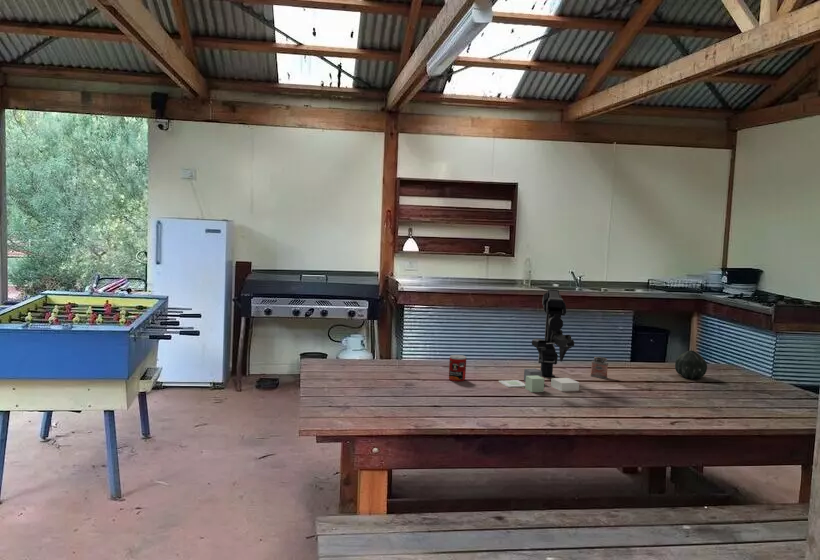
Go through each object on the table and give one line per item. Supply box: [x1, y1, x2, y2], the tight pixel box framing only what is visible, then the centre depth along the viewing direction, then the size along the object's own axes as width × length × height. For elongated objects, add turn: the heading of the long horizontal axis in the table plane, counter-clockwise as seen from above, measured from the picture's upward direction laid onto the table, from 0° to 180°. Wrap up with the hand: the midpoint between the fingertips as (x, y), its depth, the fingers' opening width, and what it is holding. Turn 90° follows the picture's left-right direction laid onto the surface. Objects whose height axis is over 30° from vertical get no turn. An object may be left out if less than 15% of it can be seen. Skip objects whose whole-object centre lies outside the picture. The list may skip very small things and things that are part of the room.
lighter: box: [590, 356, 609, 379], centre depth 317 cm, size 8×3×10 cm, turn 62°
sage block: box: [524, 375, 545, 393], centre depth 285 cm, size 6×6×6 cm
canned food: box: [448, 354, 467, 382], centre depth 299 cm, size 8×8×11 cm
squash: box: [674, 350, 708, 380], centre depth 325 cm, size 14×15×15 cm
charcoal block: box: [523, 368, 543, 383], centre depth 300 cm, size 6×6×6 cm
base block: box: [550, 377, 580, 392], centre depth 291 cm, size 9×9×4 cm
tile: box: [498, 379, 525, 388], centre depth 295 cm, size 10×10×1 cm
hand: (552, 361), depth 285 cm, fingers open, 9 cm apart
